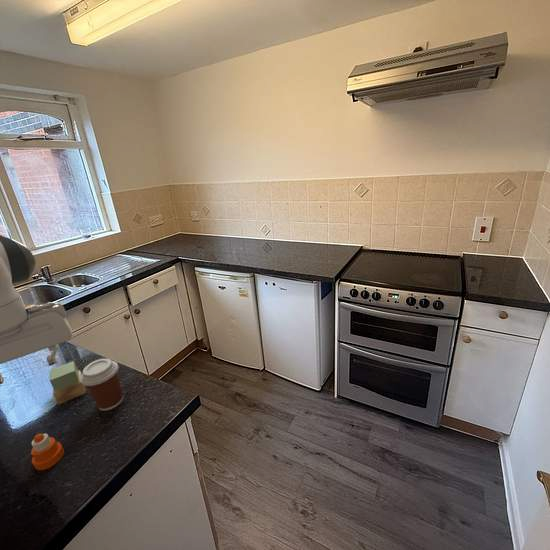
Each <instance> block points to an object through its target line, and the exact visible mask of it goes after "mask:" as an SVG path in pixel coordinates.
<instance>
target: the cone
mask: <svg viewBox="0 0 550 550" xmlns="http://www.w3.org/2000/svg"><path fill="white" fill-rule="evenodd" d="M31 446H32V449H31V451H30V453H31V456H32V458H31V464H32V465H33V467H34V469H35V470H37V471H44V470H48V469H49V468H51V467H53V466H55V465H56V464H57V463H59V461H60V460H61V459H62V458H63V456H64V454H65V449H64V447H63V445H62V443H61V442H59V441H56V439H55V438H54V437H52V436H49V435H48V433H38V434H36V435H35V436H34V438H33V440H32V441H31Z"/></svg>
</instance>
